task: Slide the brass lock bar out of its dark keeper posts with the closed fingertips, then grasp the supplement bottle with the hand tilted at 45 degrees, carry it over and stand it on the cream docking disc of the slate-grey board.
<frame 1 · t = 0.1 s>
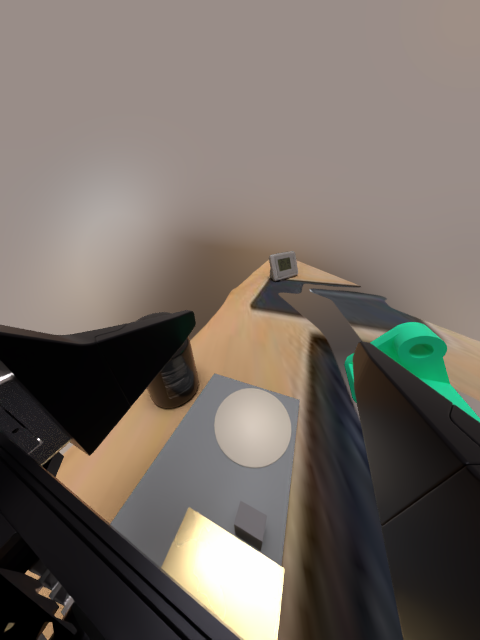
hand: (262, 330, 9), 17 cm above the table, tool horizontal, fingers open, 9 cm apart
dock board: (224, 462, 18), on the table
lock bar: (222, 573, 11), point 2 cm above the table, slide at 0.0 cm
digital clock: (282, 278, 77), on the table
supplement bottle: (176, 389, 26), on the table
camera mount: (393, 398, 24), on the table
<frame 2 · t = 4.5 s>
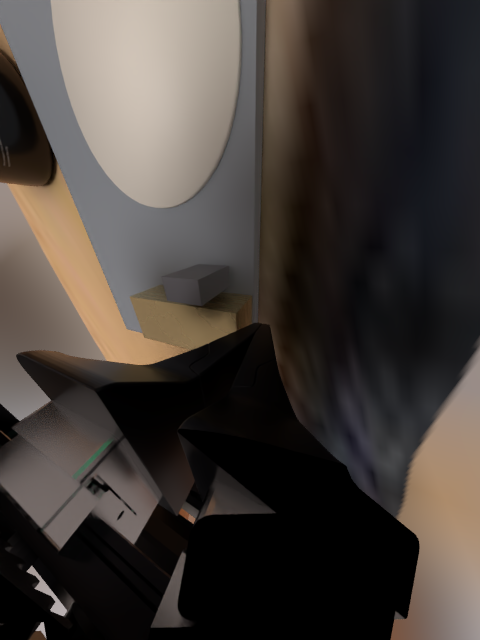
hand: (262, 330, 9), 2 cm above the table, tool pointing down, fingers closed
dock board: (160, 211, 11), on the table
lock bar: (193, 318, 11), point 2 cm above the table, slide at 0.1 cm, touching gripper
supplement bottle: (23, 128, 12), on the table
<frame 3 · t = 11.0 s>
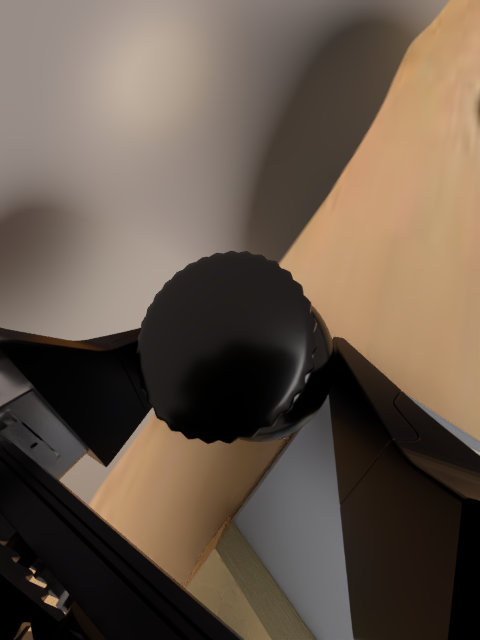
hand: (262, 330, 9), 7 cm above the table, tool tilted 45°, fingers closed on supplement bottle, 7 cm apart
dock board: (362, 555, 10), on the table
lock bar: (250, 621, 9), point 2 cm above the table, slide at 6.4 cm
supplement bottle: (271, 363, 15), on the table, touching gripper
when the fingers open (9 cm above the table, at t = 14.8 s): supplement bottle drops 1 cm, resting on dock board.
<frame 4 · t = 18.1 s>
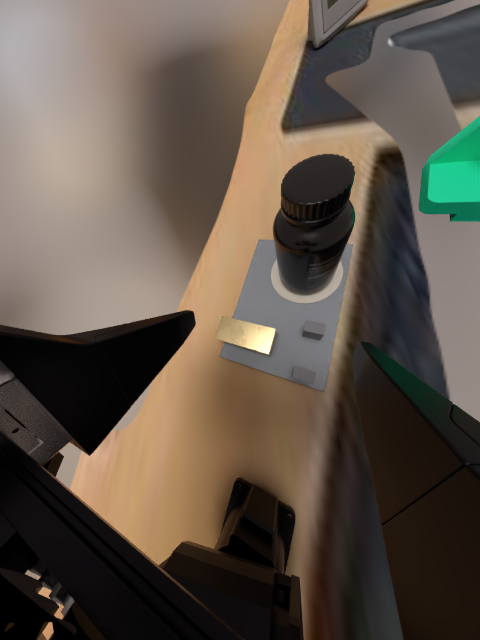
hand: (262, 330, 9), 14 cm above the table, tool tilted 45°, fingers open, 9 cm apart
dock board: (285, 304, 23), on the table
lock bar: (246, 335, 21), point 2 cm above the table, slide at 6.4 cm
digital clock: (334, 30, 40), on the table
supplement bottle: (304, 273, 23), point 1 cm above the table, touching dock board
camera mount: (475, 198, 21), on the table
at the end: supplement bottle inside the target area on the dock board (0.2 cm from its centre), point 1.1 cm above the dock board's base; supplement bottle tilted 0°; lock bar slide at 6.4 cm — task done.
